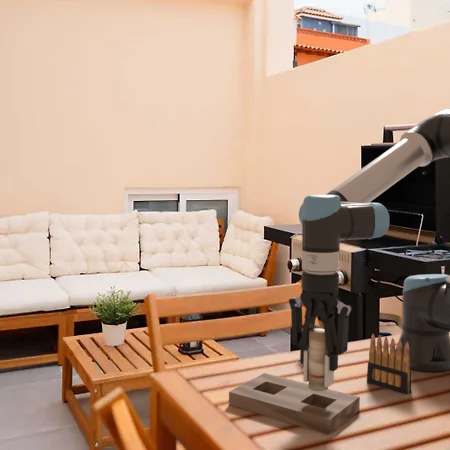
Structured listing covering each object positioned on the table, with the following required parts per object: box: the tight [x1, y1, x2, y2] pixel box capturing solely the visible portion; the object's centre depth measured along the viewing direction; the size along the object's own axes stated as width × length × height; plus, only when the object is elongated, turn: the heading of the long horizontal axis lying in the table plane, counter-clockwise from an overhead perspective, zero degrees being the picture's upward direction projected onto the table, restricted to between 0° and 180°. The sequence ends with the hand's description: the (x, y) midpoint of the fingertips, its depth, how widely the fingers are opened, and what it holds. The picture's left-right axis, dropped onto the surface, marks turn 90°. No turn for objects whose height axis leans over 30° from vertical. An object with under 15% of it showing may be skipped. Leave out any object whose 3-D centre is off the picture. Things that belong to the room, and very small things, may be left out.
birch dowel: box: [308, 328, 329, 391], centre depth 124 cm, size 4×4×12 cm
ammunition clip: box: [366, 333, 412, 396], centre depth 140 cm, size 11×2×12 cm, turn 44°
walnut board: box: [228, 372, 361, 436], centre depth 129 cm, size 14×24×3 cm, turn 53°
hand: (318, 382), depth 125 cm, fingers closed on birch dowel, 4 cm apart
